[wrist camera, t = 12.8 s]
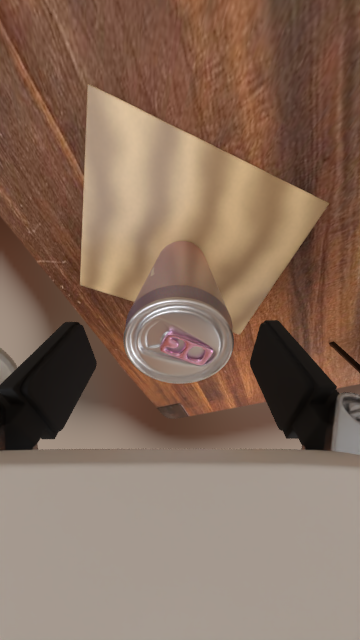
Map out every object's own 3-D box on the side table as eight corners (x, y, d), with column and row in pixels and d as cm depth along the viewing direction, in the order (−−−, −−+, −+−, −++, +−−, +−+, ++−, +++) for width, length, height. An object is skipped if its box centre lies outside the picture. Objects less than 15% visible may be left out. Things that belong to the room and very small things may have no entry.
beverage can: (191, 295, 24) (200, 396, 11) (150, 277, 22) (106, 367, 10) (215, 254, 21) (264, 327, 8) (169, 230, 19) (141, 271, 7)
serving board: (86, 280, 25) (79, 285, 23) (96, 94, 15) (87, 82, 14) (236, 328, 29) (239, 334, 27) (318, 203, 19) (329, 203, 18)
